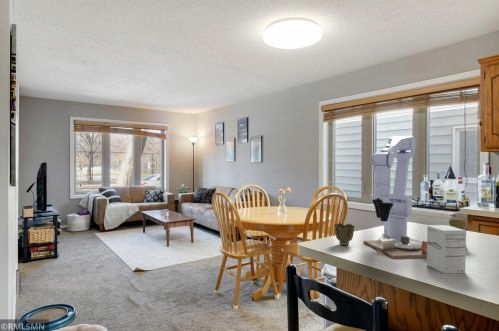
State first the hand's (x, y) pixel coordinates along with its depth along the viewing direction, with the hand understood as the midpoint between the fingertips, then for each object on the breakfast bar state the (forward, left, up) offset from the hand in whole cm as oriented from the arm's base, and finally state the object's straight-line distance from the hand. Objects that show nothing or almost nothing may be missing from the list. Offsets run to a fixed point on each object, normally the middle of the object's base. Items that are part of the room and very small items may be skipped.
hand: (381, 219), depth 117 cm
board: (+5, +7, -10) cm, 13 cm away
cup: (-3, -14, -11) cm, 18 cm away
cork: (+4, +28, -11) cm, 31 cm away
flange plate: (+5, +4, -9) cm, 11 cm away
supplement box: (+26, +5, -11) cm, 28 cm away
